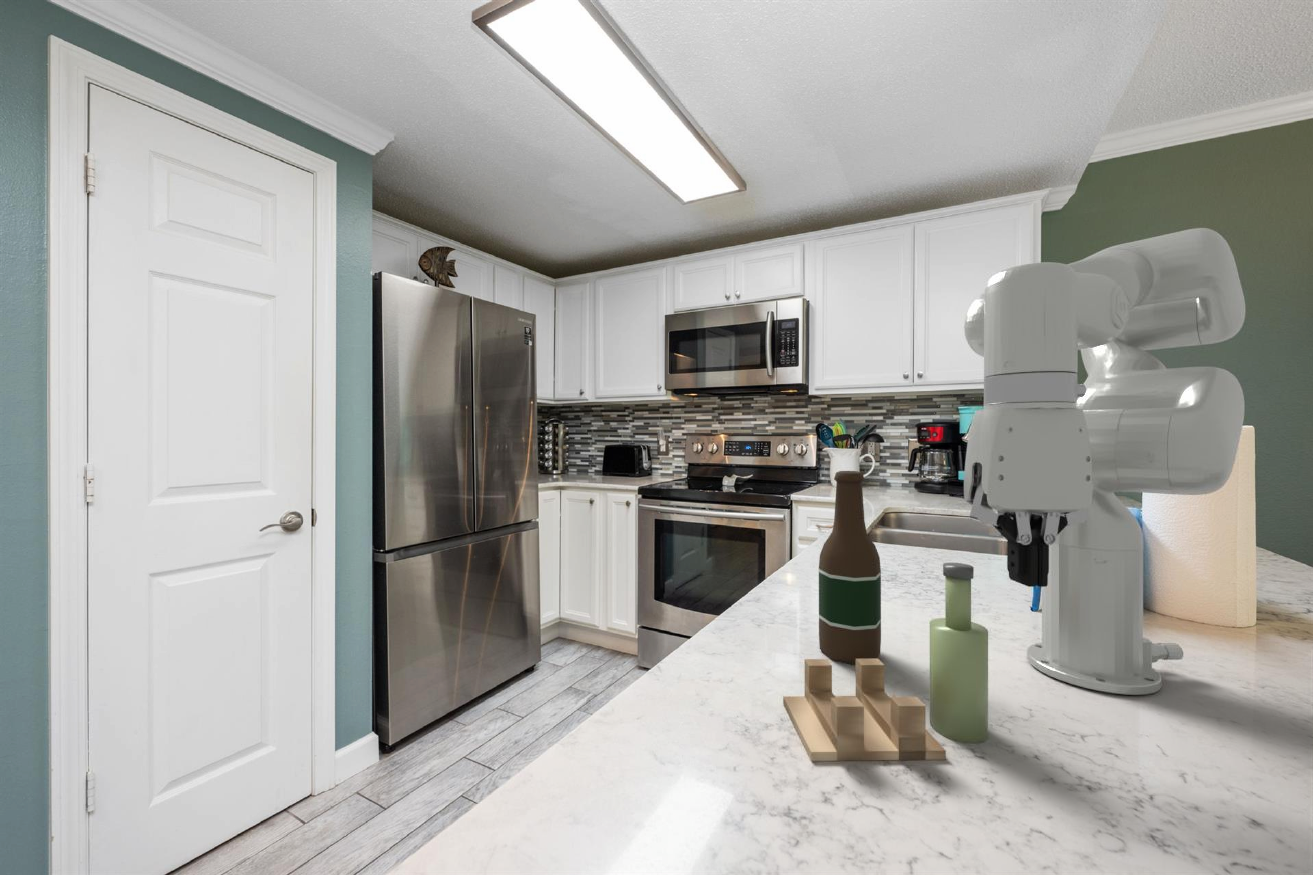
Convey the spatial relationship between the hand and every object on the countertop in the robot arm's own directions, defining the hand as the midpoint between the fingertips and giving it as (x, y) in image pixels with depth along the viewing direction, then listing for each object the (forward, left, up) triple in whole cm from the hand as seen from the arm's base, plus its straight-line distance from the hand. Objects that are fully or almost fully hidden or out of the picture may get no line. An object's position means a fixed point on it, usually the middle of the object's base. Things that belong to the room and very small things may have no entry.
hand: (1027, 582), depth 52 cm
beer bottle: (+11, -18, -15) cm, 26 cm away
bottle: (+7, 0, -14) cm, 16 cm away
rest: (+17, 0, -14) cm, 22 cm away
